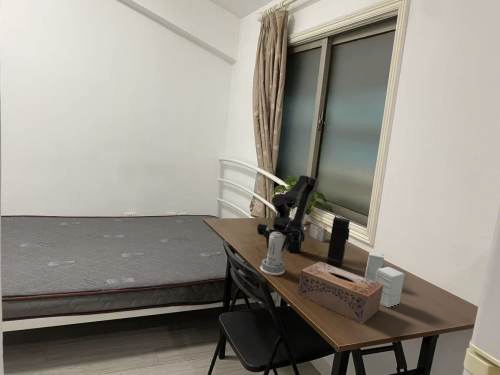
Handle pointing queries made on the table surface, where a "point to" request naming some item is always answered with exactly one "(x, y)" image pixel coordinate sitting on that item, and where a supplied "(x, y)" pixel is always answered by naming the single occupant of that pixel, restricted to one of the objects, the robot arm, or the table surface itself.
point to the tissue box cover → (340, 291)
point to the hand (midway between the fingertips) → (274, 249)
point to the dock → (272, 268)
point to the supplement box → (390, 285)
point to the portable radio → (338, 242)
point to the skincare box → (373, 265)
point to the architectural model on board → (318, 232)
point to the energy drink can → (275, 249)
